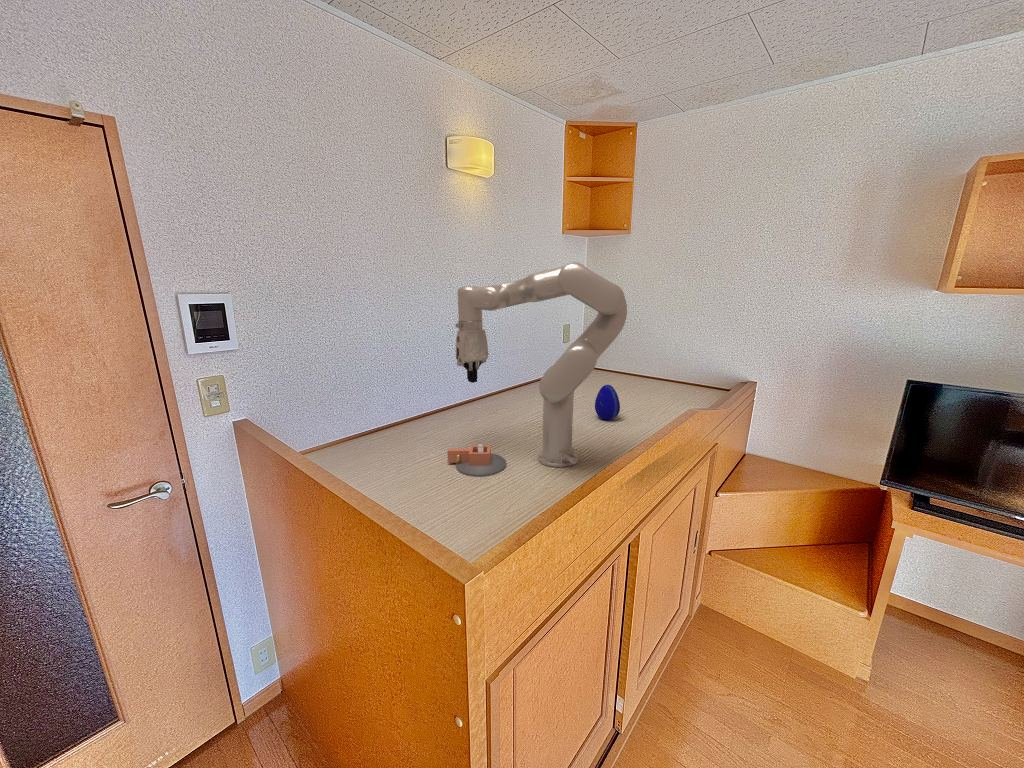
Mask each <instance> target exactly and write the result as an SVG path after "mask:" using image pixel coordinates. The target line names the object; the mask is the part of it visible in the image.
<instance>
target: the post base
mask: <svg viewBox="0 0 1024 768" xmlns="http://www.w3.org/2000/svg"><path fill="white" fill-rule="evenodd" d="M477 446H478V452H484V449H483V446H484V445H483V444H482V443H478V445H477ZM506 467H507V461H506V459H505V458H504V457H503V456H501V455H498V454H496V453H492V452H491V461H490V465H474V466H469V462H461V463H460V464H457V463H455V469H456V471H458V472H459V473H460V474H462V475H465V476H468V477H469V476H470V477H478V478H479V477H481V478H482V477H489V476H493V475H496V474H499V473H501V472H502V471H504V470H505V468H506Z"/></svg>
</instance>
